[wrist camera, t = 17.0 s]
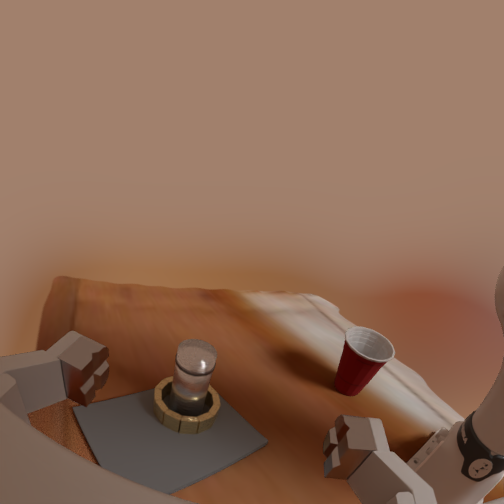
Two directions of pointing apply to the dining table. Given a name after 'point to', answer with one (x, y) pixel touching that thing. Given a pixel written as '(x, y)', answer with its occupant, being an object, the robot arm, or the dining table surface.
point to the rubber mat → (163, 442)
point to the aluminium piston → (191, 377)
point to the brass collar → (184, 422)
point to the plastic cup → (361, 359)
